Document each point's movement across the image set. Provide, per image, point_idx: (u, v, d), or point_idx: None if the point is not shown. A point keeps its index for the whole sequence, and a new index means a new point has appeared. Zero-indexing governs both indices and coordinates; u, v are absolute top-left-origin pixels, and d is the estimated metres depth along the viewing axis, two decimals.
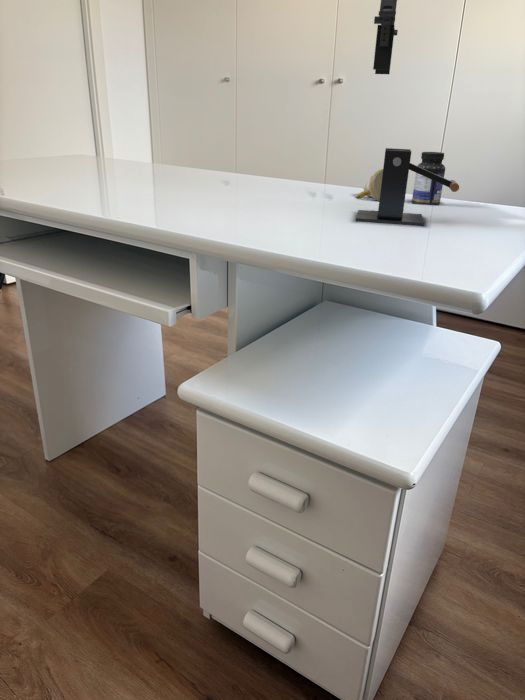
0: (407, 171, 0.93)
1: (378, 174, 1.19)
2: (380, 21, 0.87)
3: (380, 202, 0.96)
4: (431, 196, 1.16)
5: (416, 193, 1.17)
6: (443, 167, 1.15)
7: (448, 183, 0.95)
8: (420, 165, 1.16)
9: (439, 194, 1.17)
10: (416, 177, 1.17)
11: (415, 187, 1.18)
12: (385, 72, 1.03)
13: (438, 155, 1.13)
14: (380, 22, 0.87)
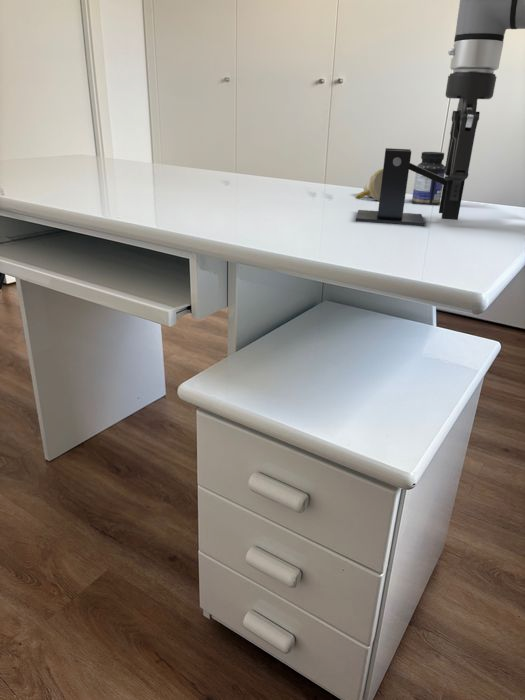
0: (407, 171, 0.93)
1: (378, 174, 1.19)
2: (451, 180, 0.91)
3: (380, 202, 0.96)
4: (431, 196, 1.16)
5: (416, 193, 1.17)
6: (443, 167, 1.15)
7: None
8: (420, 165, 1.16)
9: (439, 194, 1.17)
10: (416, 177, 1.17)
11: (415, 187, 1.18)
12: None
13: (438, 155, 1.13)
14: (451, 180, 0.91)
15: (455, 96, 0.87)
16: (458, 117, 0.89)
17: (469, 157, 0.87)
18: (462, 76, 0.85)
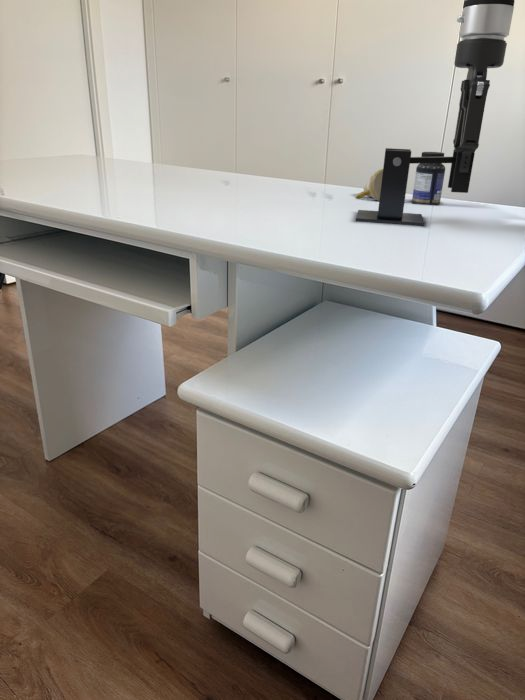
0: (407, 171, 0.93)
1: (378, 174, 1.19)
2: (461, 151, 0.89)
3: (380, 202, 0.96)
4: (431, 196, 1.16)
5: (416, 193, 1.17)
6: (443, 167, 1.15)
7: (455, 159, 0.93)
8: (420, 165, 1.16)
9: (439, 194, 1.17)
10: (416, 177, 1.17)
11: (415, 187, 1.18)
12: None
13: (438, 155, 1.13)
14: (461, 151, 0.89)
15: (464, 64, 0.85)
16: (468, 86, 0.87)
17: (479, 126, 0.85)
18: (472, 43, 0.83)
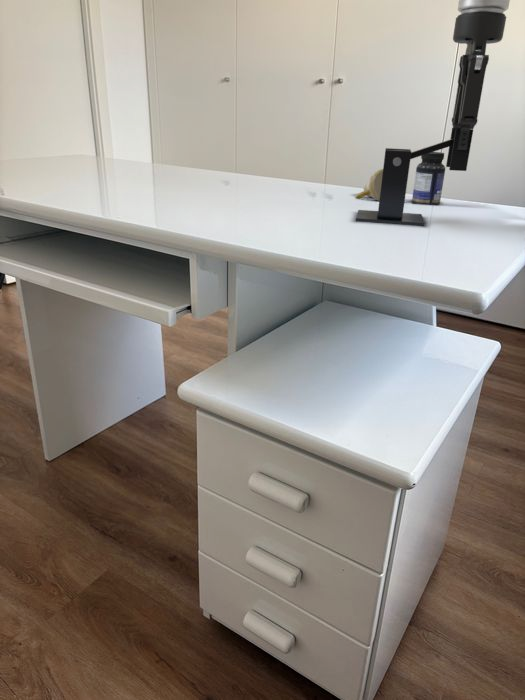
0: (407, 171, 0.93)
1: (378, 174, 1.19)
2: (459, 128, 0.88)
3: (380, 202, 0.96)
4: (431, 196, 1.16)
5: (416, 193, 1.17)
6: (443, 167, 1.15)
7: None
8: (420, 165, 1.16)
9: (439, 194, 1.17)
10: (416, 177, 1.17)
11: (415, 187, 1.18)
12: None
13: (438, 155, 1.13)
14: (459, 128, 0.88)
15: (463, 38, 0.84)
16: (466, 61, 0.85)
17: (478, 101, 0.84)
18: (470, 16, 0.82)
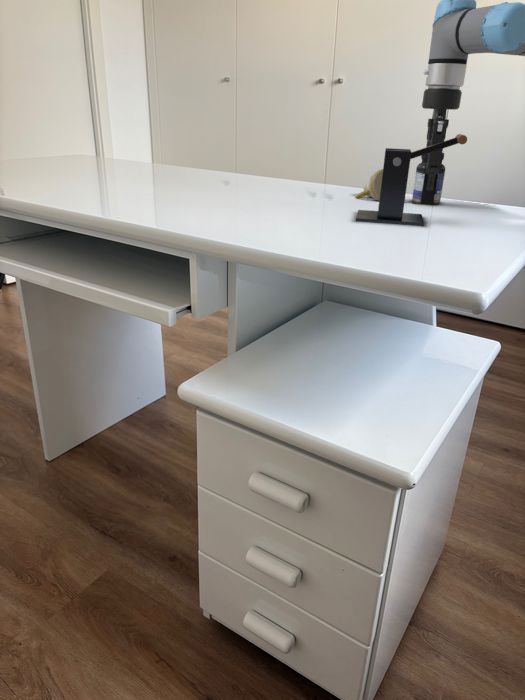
0: (407, 171, 0.93)
1: (378, 174, 1.19)
2: (427, 173, 1.13)
3: (380, 202, 0.96)
4: None
5: (416, 193, 1.17)
6: (443, 167, 1.15)
7: (455, 141, 0.92)
8: (420, 165, 1.16)
9: (439, 194, 1.17)
10: (416, 177, 1.17)
11: (415, 187, 1.18)
12: None
13: None
14: (427, 174, 1.13)
15: (429, 107, 1.10)
16: (432, 124, 1.11)
17: (440, 155, 1.09)
18: (434, 91, 1.08)
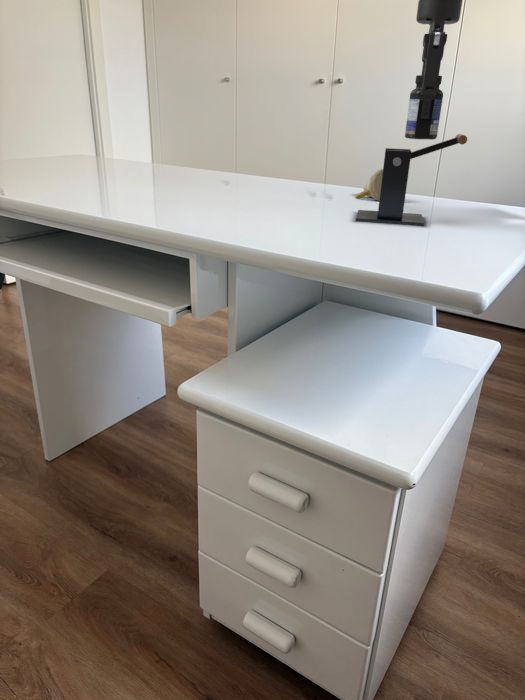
0: (407, 171, 0.93)
1: (378, 174, 1.19)
2: (422, 98, 0.98)
3: (380, 202, 0.96)
4: None
5: (410, 123, 1.02)
6: (441, 92, 1.00)
7: (455, 141, 0.92)
8: (414, 90, 1.00)
9: (436, 125, 1.02)
10: (410, 105, 1.02)
11: (408, 117, 1.03)
12: None
13: None
14: (422, 98, 0.98)
15: (424, 18, 0.94)
16: (428, 39, 0.96)
17: (437, 74, 0.94)
18: None
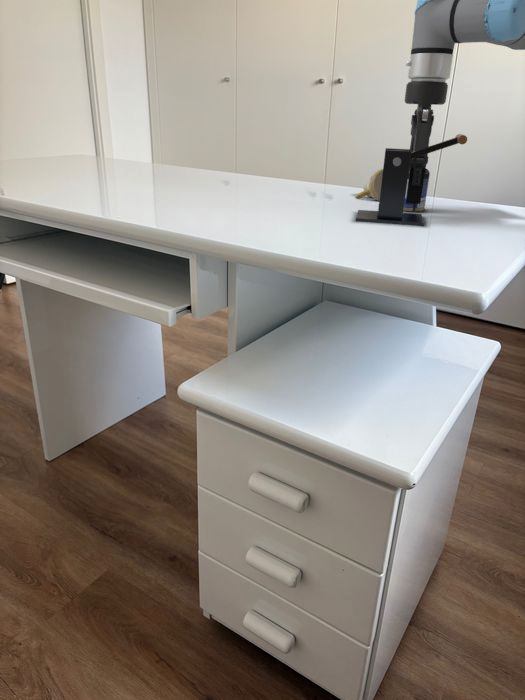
0: (407, 171, 0.93)
1: (378, 174, 1.19)
2: (413, 166, 0.99)
3: (380, 202, 0.96)
4: (414, 204, 1.06)
5: None
6: (427, 172, 1.05)
7: (455, 141, 0.92)
8: None
9: (423, 202, 1.07)
10: None
11: None
12: None
13: None
14: (413, 166, 0.99)
15: (412, 102, 0.99)
16: (415, 120, 1.01)
17: (427, 145, 0.96)
18: (417, 85, 0.98)
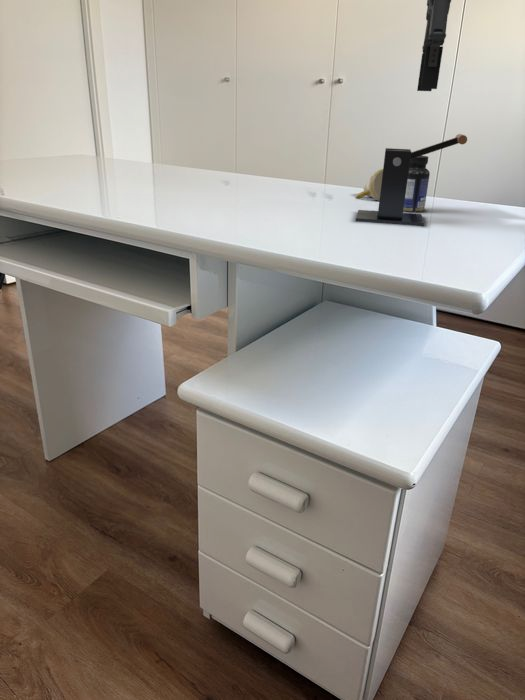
0: (407, 171, 0.93)
1: (378, 174, 1.19)
2: (430, 43, 0.90)
3: (380, 202, 0.96)
4: (414, 204, 1.06)
5: None
6: (427, 172, 1.05)
7: (455, 141, 0.92)
8: None
9: (423, 202, 1.07)
10: None
11: None
12: (428, 89, 1.06)
13: (421, 159, 1.03)
14: (429, 44, 0.91)
15: None
16: None
17: (446, 17, 0.88)
18: None
